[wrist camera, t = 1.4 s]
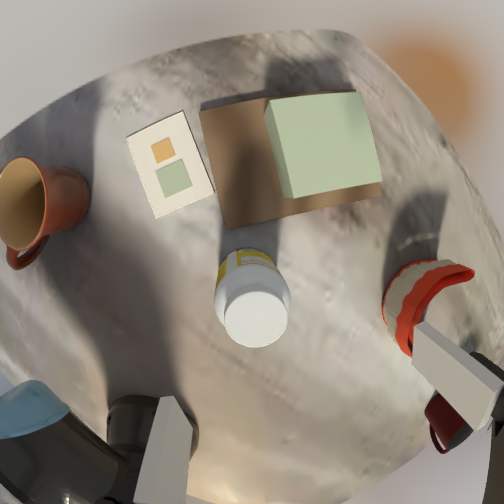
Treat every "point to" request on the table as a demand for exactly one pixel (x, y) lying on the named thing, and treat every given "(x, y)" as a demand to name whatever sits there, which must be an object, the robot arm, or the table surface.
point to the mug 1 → (38, 206)
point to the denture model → (417, 295)
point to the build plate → (258, 166)
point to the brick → (321, 143)
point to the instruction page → (169, 165)
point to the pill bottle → (251, 298)
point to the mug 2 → (446, 424)
